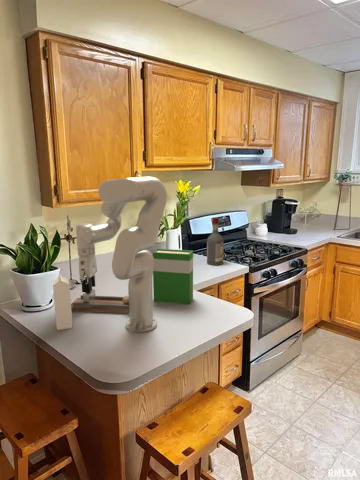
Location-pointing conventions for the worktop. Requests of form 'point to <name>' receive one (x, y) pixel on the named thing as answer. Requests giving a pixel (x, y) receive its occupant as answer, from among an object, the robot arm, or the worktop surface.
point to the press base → (101, 305)
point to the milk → (62, 303)
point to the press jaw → (89, 293)
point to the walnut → (126, 300)
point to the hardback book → (173, 276)
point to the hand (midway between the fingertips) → (88, 288)
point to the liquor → (215, 246)
